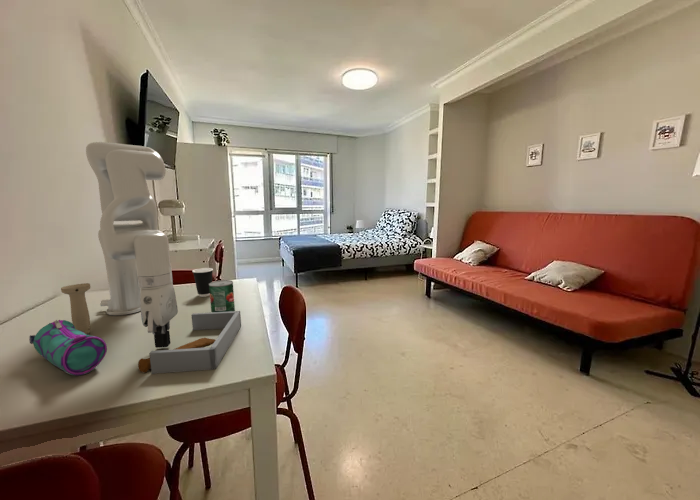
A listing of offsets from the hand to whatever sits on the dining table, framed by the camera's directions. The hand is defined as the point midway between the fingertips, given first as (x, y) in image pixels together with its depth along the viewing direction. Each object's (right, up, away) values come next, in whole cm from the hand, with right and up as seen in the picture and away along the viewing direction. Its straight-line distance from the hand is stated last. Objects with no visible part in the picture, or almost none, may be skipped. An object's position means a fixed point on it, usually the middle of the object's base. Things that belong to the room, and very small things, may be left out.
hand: (163, 345), depth 82 cm
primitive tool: (+6, -2, -2) cm, 7 cm away
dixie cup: (-11, +7, +47) cm, 49 cm away
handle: (-30, 0, +10) cm, 31 cm away
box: (+10, 0, +1) cm, 10 cm away
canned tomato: (+5, +3, +27) cm, 27 cm away
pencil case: (-18, -2, -7) cm, 20 cm away
